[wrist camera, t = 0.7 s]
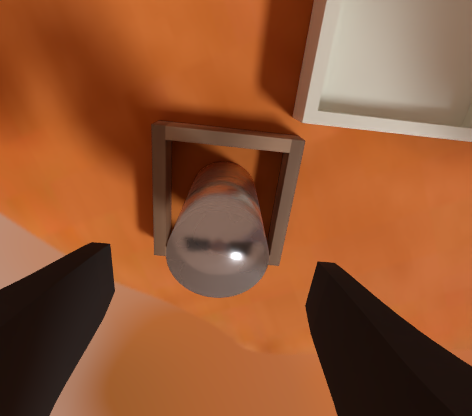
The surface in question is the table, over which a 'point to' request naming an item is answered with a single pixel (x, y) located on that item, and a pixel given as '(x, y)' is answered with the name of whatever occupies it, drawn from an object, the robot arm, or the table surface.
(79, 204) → the table surface
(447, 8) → the beige shallow square tray
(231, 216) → the dowel pin
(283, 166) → the walnut collar
